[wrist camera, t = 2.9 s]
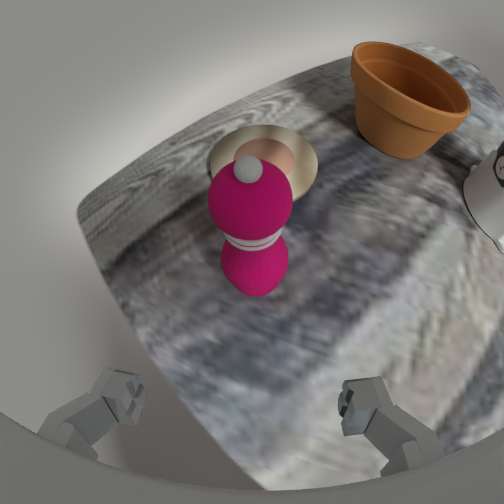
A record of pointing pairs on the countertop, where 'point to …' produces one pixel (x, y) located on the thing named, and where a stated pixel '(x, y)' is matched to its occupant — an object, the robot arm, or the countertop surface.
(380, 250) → the countertop surface
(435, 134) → the flower pot
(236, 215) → the pepper mill
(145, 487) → the robot arm
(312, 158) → the disc
